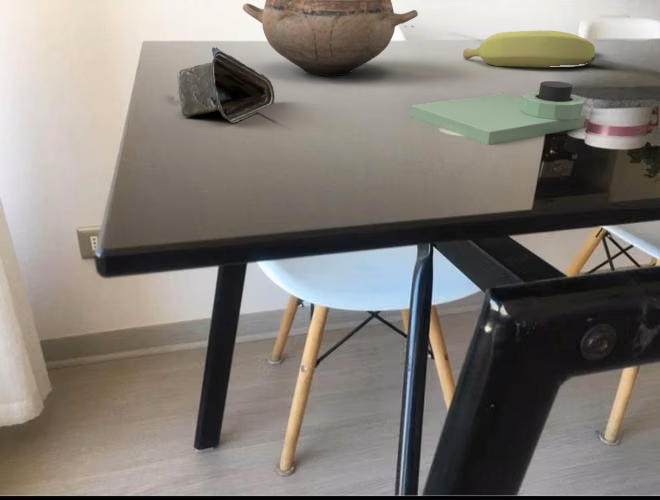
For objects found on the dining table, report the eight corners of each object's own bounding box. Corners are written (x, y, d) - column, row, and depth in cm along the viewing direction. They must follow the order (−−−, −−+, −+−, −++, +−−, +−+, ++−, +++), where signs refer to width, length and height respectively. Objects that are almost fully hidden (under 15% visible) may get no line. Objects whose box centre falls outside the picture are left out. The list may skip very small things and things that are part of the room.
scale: (504, 104, 76) (507, 78, 75) (591, 128, 67) (597, 100, 66) (409, 117, 69) (412, 90, 68) (492, 147, 60) (496, 116, 59)
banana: (592, 23, 91) (456, 30, 100) (588, 63, 92) (454, 67, 101) (596, 38, 104) (475, 44, 112) (593, 73, 104) (473, 76, 113)
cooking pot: (415, 64, 99) (422, -20, 94) (410, 89, 83) (417, -12, 77) (261, 56, 103) (259, -25, 97) (226, 79, 86) (221, -19, 81)
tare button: (551, 96, 69) (554, 80, 68) (575, 102, 66) (579, 85, 65) (531, 99, 67) (534, 82, 66) (555, 105, 65) (558, 88, 64)
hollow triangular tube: (228, 98, 77) (164, 33, 67) (277, 87, 74) (219, 17, 64) (215, 166, 73) (146, 108, 64) (267, 157, 70) (203, 95, 61)
